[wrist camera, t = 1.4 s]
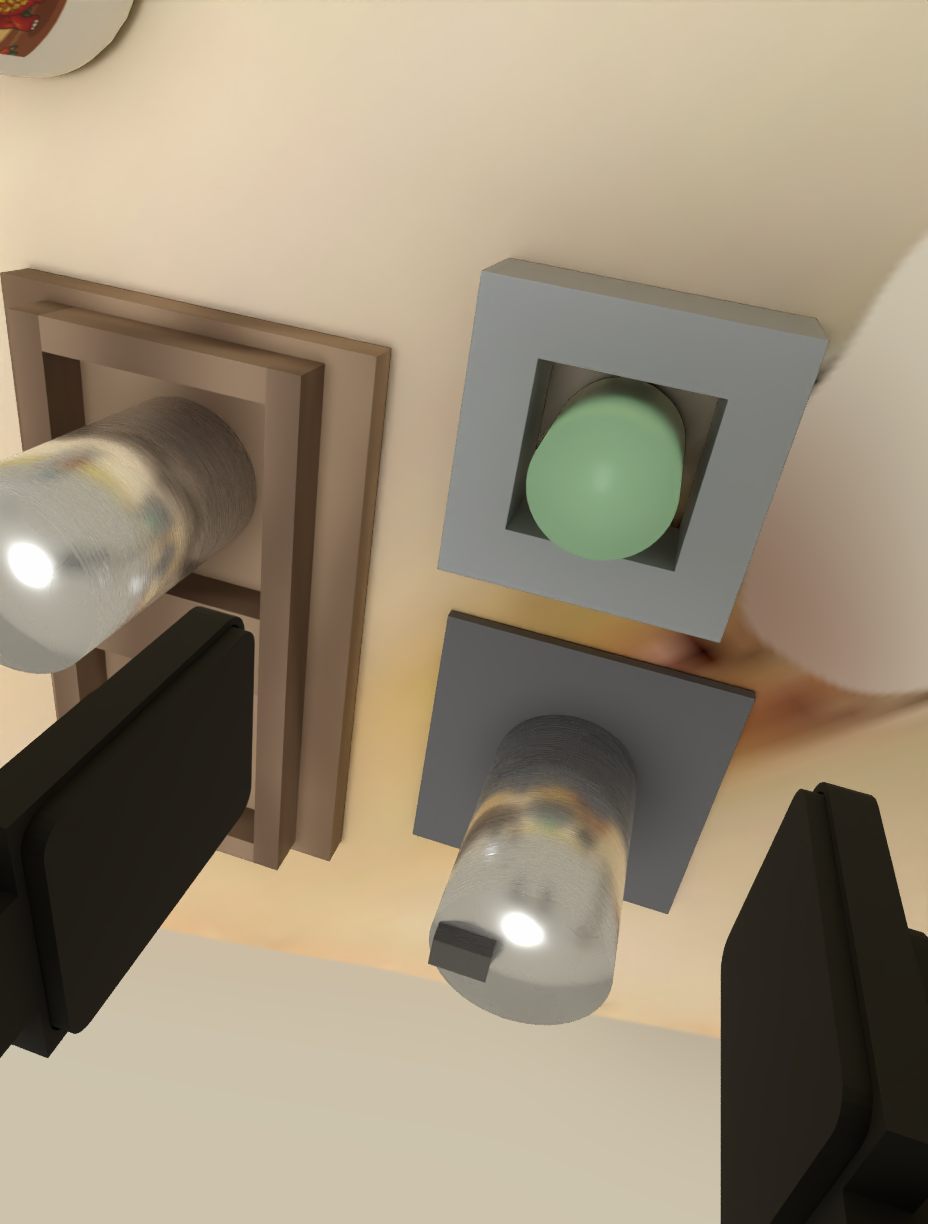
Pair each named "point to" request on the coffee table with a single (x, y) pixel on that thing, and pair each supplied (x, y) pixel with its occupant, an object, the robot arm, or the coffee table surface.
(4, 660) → the cylinder
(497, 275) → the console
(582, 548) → the button
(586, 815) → the silver rounded cylinder
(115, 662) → the brown cruet tray
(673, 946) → the coffee table surface
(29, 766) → the robot arm
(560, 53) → the coffee table surface
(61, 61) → the milk bottle
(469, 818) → the mat
